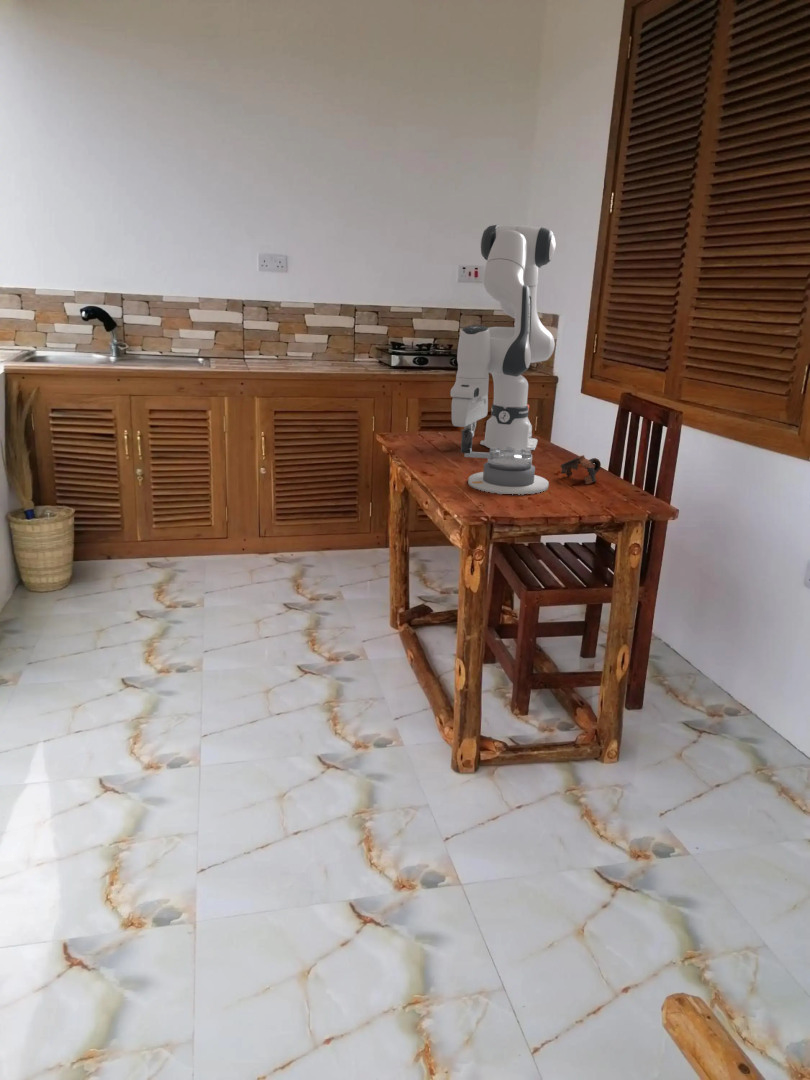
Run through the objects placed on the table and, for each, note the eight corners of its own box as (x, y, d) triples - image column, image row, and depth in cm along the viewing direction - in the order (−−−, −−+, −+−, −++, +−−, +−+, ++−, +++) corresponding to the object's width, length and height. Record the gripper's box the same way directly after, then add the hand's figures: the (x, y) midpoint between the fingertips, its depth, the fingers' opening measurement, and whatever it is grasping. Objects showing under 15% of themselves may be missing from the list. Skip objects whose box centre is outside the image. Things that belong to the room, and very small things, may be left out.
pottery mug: (581, 488, 223) (569, 461, 222) (562, 495, 231) (551, 469, 231) (613, 473, 227) (601, 446, 227) (593, 480, 236) (582, 454, 236)
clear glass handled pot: (461, 457, 228) (463, 426, 225) (531, 461, 225) (533, 429, 222) (458, 467, 216) (460, 434, 213) (531, 471, 214) (534, 438, 211)
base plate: (483, 471, 236) (484, 454, 234) (556, 480, 228) (558, 462, 226) (456, 488, 217) (457, 469, 215) (536, 499, 208) (537, 479, 207)
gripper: (473, 382, 228) (471, 430, 233) (448, 391, 211) (445, 443, 215) (494, 384, 226) (491, 432, 230) (470, 393, 208) (468, 445, 213)
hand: (469, 437), depth 223 cm, fingers closed
